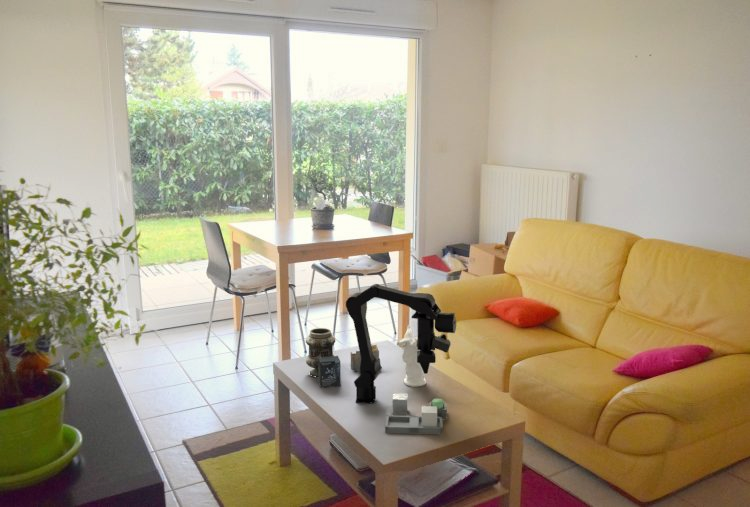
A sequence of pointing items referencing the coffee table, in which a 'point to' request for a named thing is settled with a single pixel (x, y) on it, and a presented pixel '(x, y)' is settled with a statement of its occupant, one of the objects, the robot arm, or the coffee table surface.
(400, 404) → the block
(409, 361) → the cherub figurine
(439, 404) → the button
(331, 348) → the ornate grey-brown vase
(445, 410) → the switch box
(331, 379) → the box
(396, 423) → the pallet
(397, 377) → the coffee table surface
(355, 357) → the architectural model on board
